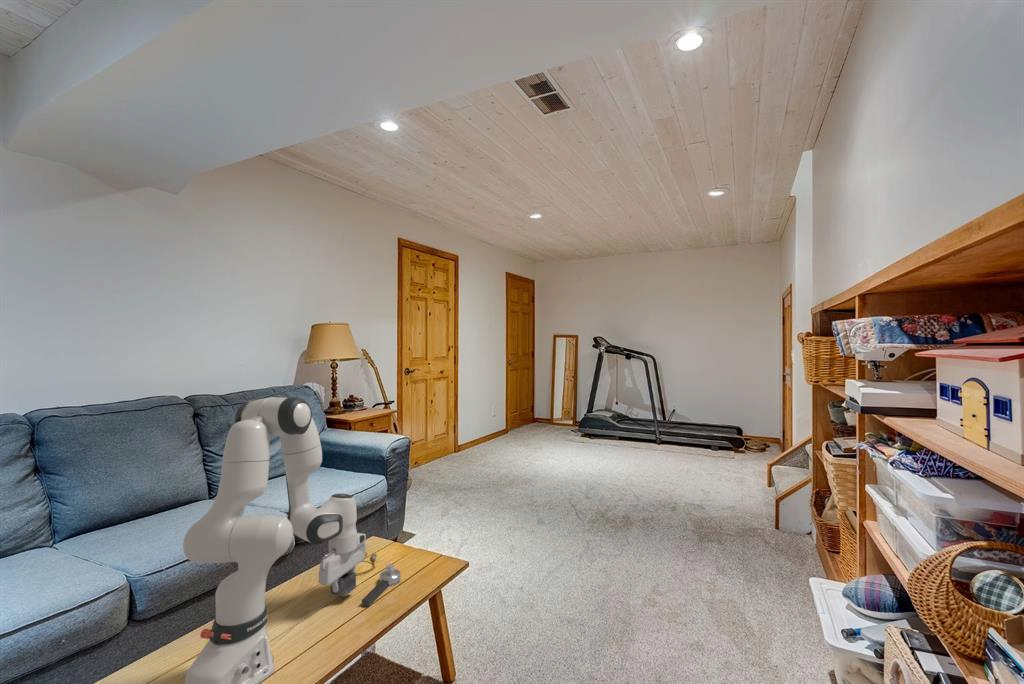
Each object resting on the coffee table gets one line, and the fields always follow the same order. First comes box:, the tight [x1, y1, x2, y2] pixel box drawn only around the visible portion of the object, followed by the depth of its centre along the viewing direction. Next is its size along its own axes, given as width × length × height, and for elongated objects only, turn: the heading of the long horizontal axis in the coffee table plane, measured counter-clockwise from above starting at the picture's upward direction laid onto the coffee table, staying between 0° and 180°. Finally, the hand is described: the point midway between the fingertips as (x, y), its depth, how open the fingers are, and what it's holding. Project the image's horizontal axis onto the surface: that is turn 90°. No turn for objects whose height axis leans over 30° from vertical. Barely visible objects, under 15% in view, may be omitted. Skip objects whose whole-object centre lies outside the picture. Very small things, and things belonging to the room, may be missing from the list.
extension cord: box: [355, 552, 378, 577], centre depth 174 cm, size 12×16×2 cm
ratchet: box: [361, 563, 401, 608], centre depth 156 cm, size 20×7×6 cm, turn 166°
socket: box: [330, 572, 357, 597], centre depth 152 cm, size 6×6×5 cm
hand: (343, 585), depth 152 cm, fingers closed on socket, 6 cm apart
